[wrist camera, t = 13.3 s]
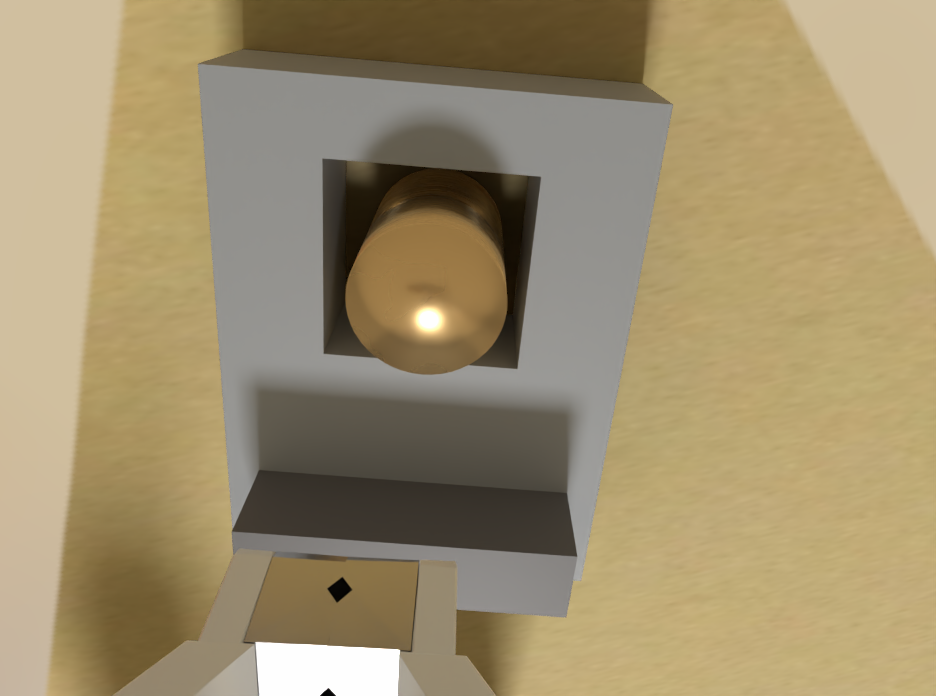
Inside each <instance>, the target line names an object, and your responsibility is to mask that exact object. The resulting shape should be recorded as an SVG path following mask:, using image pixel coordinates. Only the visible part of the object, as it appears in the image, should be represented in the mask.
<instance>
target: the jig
mask: <svg viewBox="0 0 936 696" xmlns="http://www.w3.org/2000/svg"><path fill="white" fill-rule="evenodd" d="M198 72H199V85H200V99H201V112H202V126H203V139H204V152H205V166H206V179H207V193H208V206H209V219H210V233H211V246H212V260H213V273H214V286H215V300H216V313H217V327H218V340H219V354H220V367H221V380H222V394H223V407H224V421H225V434H226V447H227V461H228V474H229V488H230V501H231V514H232V528H233V530H232V542H233V555H234V554H235V553H236V552H237V551H238V550H239V549H251V550H263V551H274V552H276V551H285V552H297V553H309V554H321V555H333V556H345V557H365V558H384V559H404V560H419V565H420V560H438V561H455V562H456V564H457V610H468V611H482V612H496V613H510V614H525V615H539V616H553V617H566V616H567V610H568V605H569V600H570V594H571V589H572V584H573V580H574V581H581V578H582V573H583V568H584V563H585V558H586V552H587V547H588V542H589V537H590V532H591V526H592V521H593V516H594V511H595V506H596V501H597V495H598V490H599V485H600V480H601V475H602V470H603V464H604V459H605V454H606V449H607V444H608V439H609V433H610V428H611V423H612V418H613V413H614V408H615V402H616V397H617V392H618V387H619V382H620V376H621V371H622V366H623V361H624V356H625V351H626V345H627V340H628V335H629V330H630V325H631V320H632V314H633V309H634V304H635V299H636V294H637V289H638V283H639V278H640V273H641V268H642V263H643V258H644V252H645V247H646V242H647V237H648V232H649V227H650V221H651V216H652V211H653V206H654V201H655V195H656V190H657V185H658V180H659V175H660V170H661V164H662V159H663V154H664V149H665V144H666V139H667V133H668V128H669V123H670V118H671V113H672V108H673V104H671V103H670V102H669V101H667V100H666V99H664V98H663V97H661V96H660V95H658V94H657V93H656V92H654V91H653V90H651V89H650V88H648V87H647V86H645V85H644V84H640V83H629V82H617V81H606V80H594V79H582V78H571V77H559V76H548V75H536V74H525V73H513V72H501V71H490V70H478V69H467V68H455V67H444V66H432V65H421V64H409V63H397V62H386V61H374V60H363V59H351V58H340V57H328V56H317V55H305V54H293V53H282V52H270V51H259V50H247V49H242V50H239V51H236V52H233V53H230V54H226V55H223V56H220V57H217V58H214V59H211V60H208V61H205V62H202V63H199V64H198ZM346 160H348V161H360V162H372V163H384V164H396V165H408V166H420V167H432V168H443V169H455V170H467V171H479V172H491V173H503V174H515V175H527V176H529V178H528V186H527V195H526V204H525V212H524V221H523V229H522V238H521V247H520V255H519V264H518V273H517V281H516V290H515V298H514V307H513V315H508V314H506V318H505V322H504V325H503V328H502V330H501V332H500V334H499V336H498V338H497V339H496V341H495V342H494V344H493V345H492V346H491V347H490V349H489V350H488V351H487V352H486V353H485V354H484V355H482V356H481V357H480V358H479V359H477V360H476V361H474V362H473V363H471V364H470V365H468V366H465V367H463V368H461V369H458V370H456V371H453V372H448V373H444V374H435V375H421V374H414V373H409V372H405V371H402V370H399V369H396V368H394V367H392V366H390V365H388V364H386V363H384V362H382V361H381V360H380V359H378V358H377V357H375V356H374V355H373V354H372V353H371V352H369V351H368V350H367V349H366V347H365V346H364V345H363V344H362V343H361V342H360V340H359V339H358V337H357V336H356V334H355V332H354V330H353V328H352V326H351V324H350V321H349V318H348V315H347V310H346V302H345V258H346ZM418 577H419V575H418Z"/></svg>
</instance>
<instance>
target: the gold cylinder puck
mask: <svg viewBox="0 0 936 696" xmlns="http://www.w3.org/2000/svg"><path fill="white" fill-rule="evenodd" d="M345 301H346V310H347V315H348V318H349V321H350V324H351V326H352V328H353V330H354V332H355V334H356V336H357V337H358V339H359V340H360V342H361V343H362V344H363V345H364V346H365V347H366V349H367V350H368V351H369V352H371V353H372V354H373V355H374V356H375V357H377V358H378V359H380V360H381V361H382V362H384V363H386V364H388V365H390V366H392V367H394V368H396V369H399V370H402V371H405V372H409V373H414V374H421V375H435V374H444V373H448V372H453V371H456V370H458V369H461V368H463V367H465V366H468V365H470V364H471V363H473V362H474V361H476V360H477V359H479V358H480V357H481V356H482V355H484V354H485V353H486V352H487V351H488V350H489V349H490V347H491V346H492V345H493V344H494V342H495V341H496V339H497V338H498V336H499V334H500V332H501V330H502V328H503V325H504V322H505V318H506V313H507V289H506V275H505V262H504V249H503V236H502V224H501V218H500V214H499V211H498V209H497V206H496V204H495V202H494V200H493V199H492V197H491V196H490V194H489V193H488V192H487V191H486V190H485V189H484V188H483V187H482V186H481V185H480V184H479V183H478V182H476V181H475V180H474V179H472V178H470V177H469V176H467V175H465V174H462V173H460V172H457V171H453V170H449V169H440V168H433V169H425V170H421V171H417V172H414V173H412V174H409V175H407V176H406V177H404V178H402V179H401V180H399V181H398V182H397V183H395V184H394V185H393V186H392V187H391V188H390V189H389V191H388V192H387V193H386V195H385V196H384V198H383V199H382V201H381V203H380V205H379V208H378V210H377V212H376V214H375V217H374V219H373V221H372V223H371V226H370V228H369V230H368V233H367V235H366V237H365V239H364V242H363V244H362V246H361V249H360V251H359V253H358V255H357V258H356V260H355V262H354V265H353V267H352V269H351V272H350V274H349V277H348V281H347V285H346V294H345Z"/></svg>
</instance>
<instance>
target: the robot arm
mask: <svg viewBox="0 0 936 696" xmlns="http://www.w3.org/2000/svg"><path fill="white" fill-rule="evenodd" d="M418 575H419V577H418ZM456 613H457V564H456V562H455V561H438V560H420V565H419V560H404V559H384V558H365V557H345V556H333V555H321V554H309V553H297V552H285V551H276V552H274V551H263V550H251V549H239V550H238V551H237V552H236V553H235V554H234V555H233V557H232V559H231V562H230V564H229V567H228V569H227V571H226V574H225V576H224V579H223V581H222V583H221V586H220V588H219V591H218V593H217V596H216V598H215V600H214V603H213V605H212V608H211V610H210V612H209V615H208V617H207V620H206V622H205V625H204V627H203V629H202V632H201V634H200V637H199V639H198V641H192V640H186V641H185V642H183V643H182V644H181V645H179V646H178V647H177V648H175V649H174V650H173V651H171V652H170V653H169V654H167V655H166V656H165V657H163V658H162V659H161V660H159V661H158V662H157V663H155V664H154V665H153V666H151V667H150V668H148V669H147V670H146V671H144V672H143V673H142V674H140V675H139V676H138V677H136V678H135V679H134V680H132V681H131V682H130V683H128V684H127V685H126V686H124V687H123V688H122V689H120V690H119V691H118V692H116V693H115V694H114V695H112V696H496V695H495V693H494V692H493V691H492V689H491V688H490V687H489V685H488V684H487V683H486V681H485V680H484V679H483V677H482V676H481V674H480V673H479V672H478V670H477V669H476V668H475V666H474V665H473V664H472V662H471V661H470V660H469V658H468V657H467V656H462V655H456Z"/></svg>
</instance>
